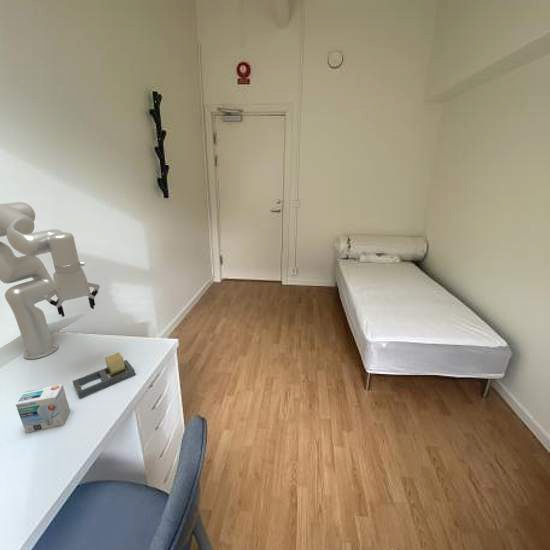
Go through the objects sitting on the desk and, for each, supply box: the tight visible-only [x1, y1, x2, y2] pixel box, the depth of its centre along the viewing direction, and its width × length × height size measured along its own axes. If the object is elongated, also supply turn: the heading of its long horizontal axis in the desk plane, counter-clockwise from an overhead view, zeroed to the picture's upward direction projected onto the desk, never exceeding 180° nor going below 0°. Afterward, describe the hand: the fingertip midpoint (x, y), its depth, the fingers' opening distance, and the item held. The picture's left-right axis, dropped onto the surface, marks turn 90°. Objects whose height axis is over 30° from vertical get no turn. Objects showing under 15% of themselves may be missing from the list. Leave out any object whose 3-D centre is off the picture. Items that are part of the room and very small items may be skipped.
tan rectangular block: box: [104, 352, 127, 378], centre depth 121 cm, size 5×5×8 cm
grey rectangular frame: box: [72, 359, 136, 400], centre depth 119 cm, size 9×19×2 cm, turn 131°
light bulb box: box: [15, 383, 71, 434], centre depth 99 cm, size 11×7×11 cm, turn 105°
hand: (77, 311), depth 119 cm, fingers open, 9 cm apart
